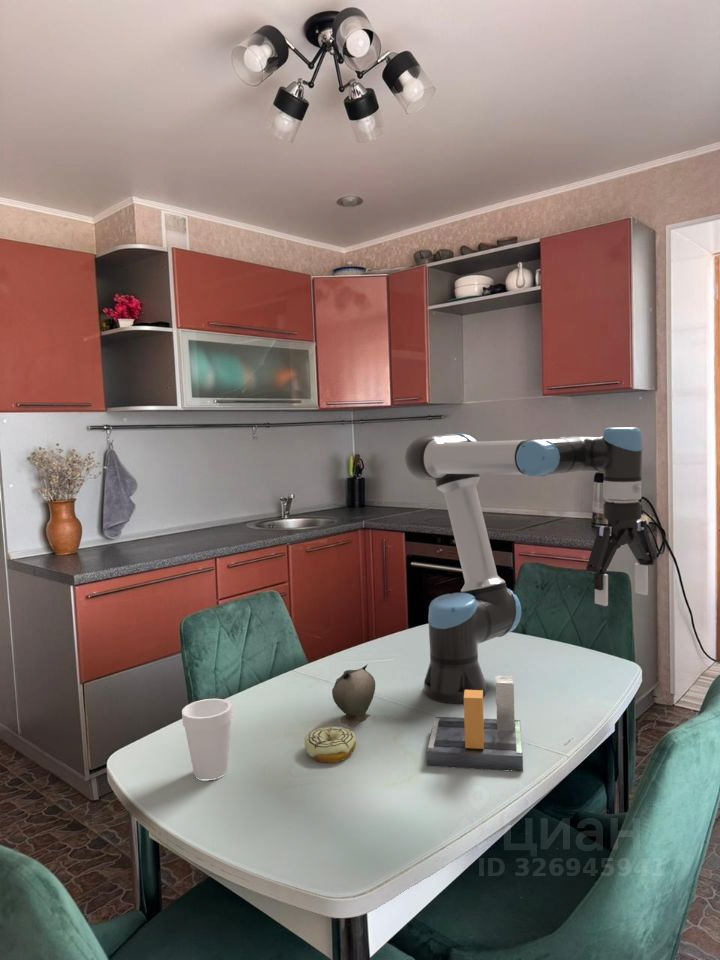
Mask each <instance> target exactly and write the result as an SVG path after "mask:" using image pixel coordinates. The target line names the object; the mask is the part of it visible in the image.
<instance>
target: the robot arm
mask: <svg viewBox="0 0 720 960" xmlns="http://www.w3.org/2000/svg"><path fill="white" fill-rule="evenodd" d="M642 439H643V438H642V431H641V429H640V428H639V427H635V426H634V427H633V426H629V427H628V426H627V427H626V426H625V427H623V426H622V427H621V426H620V427H619V426H618V427H617V426H616V427H606V428H604V430H603V433H602V436H576V435H570V436H567V435H566V436H560V437H558V438H540V439H538V438H535V439H516V440H515V439H513V440H512V439H511V440H489V441H487V440H483V441H482V440H481V441H478V440H476V439H475V438H474V437H472V436H471V435H469V434H466V433H458V432H456V433H455V432H453V433H446V434H441V433H440V434H428V435H422V436H418V437H417V438H415V439H413V440H412V441H411V442H410V443H409V445H408V446H407V448H406V449H405V450H406V451H405V454H404V461H405V466H406V468H407V470H408V471H409V473H410V474H412V476H414V477H415V478H417V479H420V480H423V481H435V486H436V490H438V491H440V492H442V493H443V494H444V498H445V503H446V507H447V513H448V517H449V520H450V525H451V529H452V533H453V537H454V541H455V545H456V549H457V554H458V555H457V556H458V558H459V563H460V566H461V567H460V568H461V572H462V575H463V579H464V585H463V586H462V588H461V589H460V592H453V593H446V594H442V595H439V596H437V597H435V598H434V599H432V600H431V602H430V604H429V606H428V616H427V617H428V618H427V622H428V635H429V636H428V637H429V639H428V640H429V659H430V660H429V664H428V666H427V667H428V668H427V671H426V675H425V677H424V681H423V690H424V694H425V696H427V697H428V698H429V699H432V700H433V701H434V700H435V701H437V702H441V703H447V704H448V703H449V704H464V691H465V690H483V697H485V696H486V693H487V683H486V680H485V677H484V674H483V671H482V668H481V666H480V662H479V655H478V654H479V653H478V652H479V650H478V648H479V647H478V645H479V644H481V643H485V642H487V641H489V640H492V639H495V638H501V637H504V636H506V635H507V634H510V633H511V632H513V631H514V630H516V628H517V626H518V625H519V623H520V621H521V616H522V607H521V602H520V599H519V598H518V595H516V594H514V591H513V590H511V588H508V587H507V584H506V581H505V580H504V579H503V578H501V576H499V575H498V572H497V567H496V564H495V563H496V562H495V559H494V555H493V551H492V547H491V543H490V538H489V536H488V535H489V534H488V531H487V530H488V529H487V527H486V522H485V518H484V514H483V509H482V505H481V502H480V498H479V494H478V490H477V485H478V483H479V481H480V479H481V478H480V477H481V476H480V475H527V476H530V477H545V476H548V475H550V476H551V475H556V474H557V475H558V474H565V473H574V472H603V483H602V485H603V488H602V490H603V491H602V497H603V499H604V502H603V514H602V516H603V518H604V519H605V520H607V525H606V526H604V525H597V527H596V533H595V539H594V543H593V544H592V545H593V546H592V549H591V551H590V555H589V558H588V561H587V563H586V566H585V567H586V568H585V569H586V572H589V573H590V574H593V588H594V589H593V590H594V604H597V605H600V606H602V607H607V606H609V574H607V573H606V572H607V571H608V568H609V566H610V564H611V562H612V560H613V559H614V556H615V554H616V552H617V550H619V549H620V548H621V547H622V546H625V545H626V544H627V546H628V548H629V549H630V552H631V553H632V554H633V556H634V558H635V560H636V561H637V562H638V563H637V562H636V563H634V593H635V594H639V595H642V596H648V595H649V573H650V572H649V569H650V566H653V565H654V564H655V560H656V558H657V557H656V554H655V550H654V547H653V544H652V543H653V542H652V540H651V538H650V534H649V531H648V522H647V521H648V520H644V519H642V502H641V501H639V500H641V499H642V461H643V460H642V458H643V456H642V455H643V450H644V449H643V446H642V445H643V442H642Z"/></svg>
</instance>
